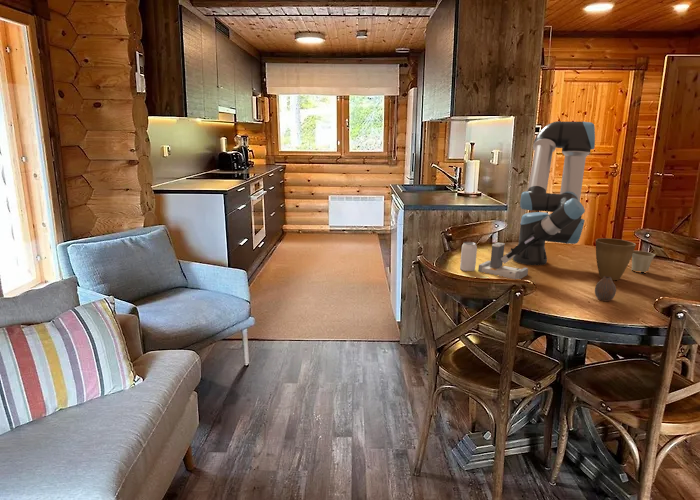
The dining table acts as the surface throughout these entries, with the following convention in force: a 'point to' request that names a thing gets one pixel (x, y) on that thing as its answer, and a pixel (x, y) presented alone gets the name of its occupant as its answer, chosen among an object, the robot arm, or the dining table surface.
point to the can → (468, 256)
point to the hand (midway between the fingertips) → (502, 260)
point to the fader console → (503, 271)
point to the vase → (605, 289)
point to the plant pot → (613, 256)
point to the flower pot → (641, 260)
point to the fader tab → (497, 255)
